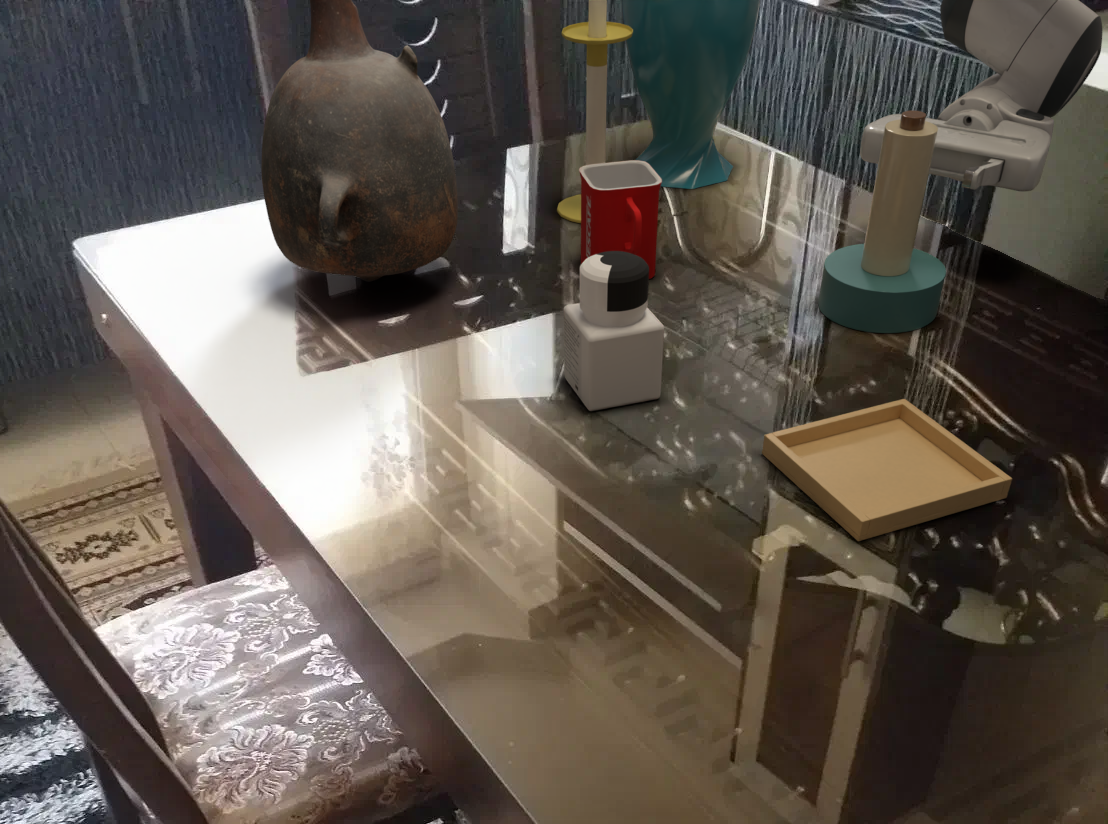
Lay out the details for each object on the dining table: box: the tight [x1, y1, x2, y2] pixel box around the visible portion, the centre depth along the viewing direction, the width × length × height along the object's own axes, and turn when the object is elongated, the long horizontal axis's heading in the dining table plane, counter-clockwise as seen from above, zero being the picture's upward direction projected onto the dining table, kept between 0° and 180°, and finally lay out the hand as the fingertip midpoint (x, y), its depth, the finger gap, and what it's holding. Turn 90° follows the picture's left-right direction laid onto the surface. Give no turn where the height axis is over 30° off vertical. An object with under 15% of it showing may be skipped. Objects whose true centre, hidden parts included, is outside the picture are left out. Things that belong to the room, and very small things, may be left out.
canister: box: [861, 110, 938, 276], centre depth 120 cm, size 5×5×15 cm
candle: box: [556, 0, 633, 224], centre depth 137 cm, size 10×10×38 cm
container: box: [563, 251, 665, 412], centre depth 112 cm, size 8×8×13 cm
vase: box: [621, 0, 761, 190], centre depth 149 cm, size 17×17×30 cm
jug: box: [260, 0, 459, 283], centre depth 125 cm, size 24×21×30 cm
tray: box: [761, 398, 1013, 542], centre depth 103 cm, size 16×16×2 cm
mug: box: [578, 159, 662, 280], centre depth 132 cm, size 12×8×11 cm
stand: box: [817, 243, 947, 334], centre depth 127 cm, size 13×13×4 cm
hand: (927, 172), depth 124 cm, fingers open, 8 cm apart
